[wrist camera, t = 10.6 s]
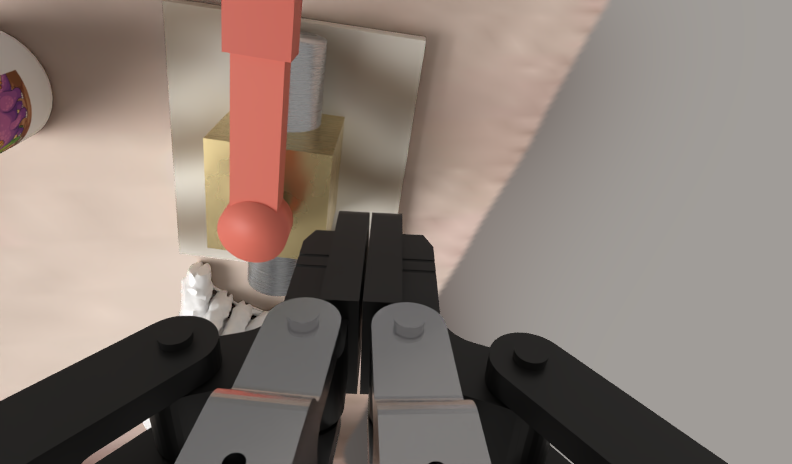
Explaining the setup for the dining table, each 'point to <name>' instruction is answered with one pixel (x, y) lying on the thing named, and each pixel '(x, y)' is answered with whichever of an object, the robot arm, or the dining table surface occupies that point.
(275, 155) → the valve lever
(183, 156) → the mounting board
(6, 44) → the milk bottle
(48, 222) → the dining table surface
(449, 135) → the dining table surface
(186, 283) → the sitting furry creature
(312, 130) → the valve body
